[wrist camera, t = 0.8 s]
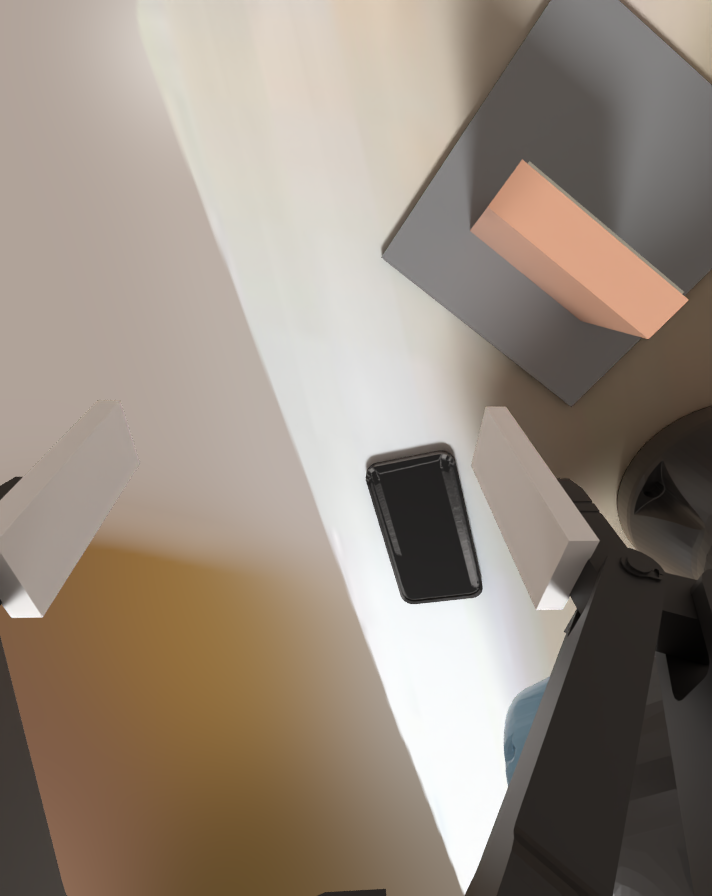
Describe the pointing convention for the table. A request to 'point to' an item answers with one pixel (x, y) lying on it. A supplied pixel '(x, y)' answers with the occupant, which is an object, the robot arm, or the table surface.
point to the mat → (571, 183)
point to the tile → (575, 256)
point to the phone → (425, 527)
